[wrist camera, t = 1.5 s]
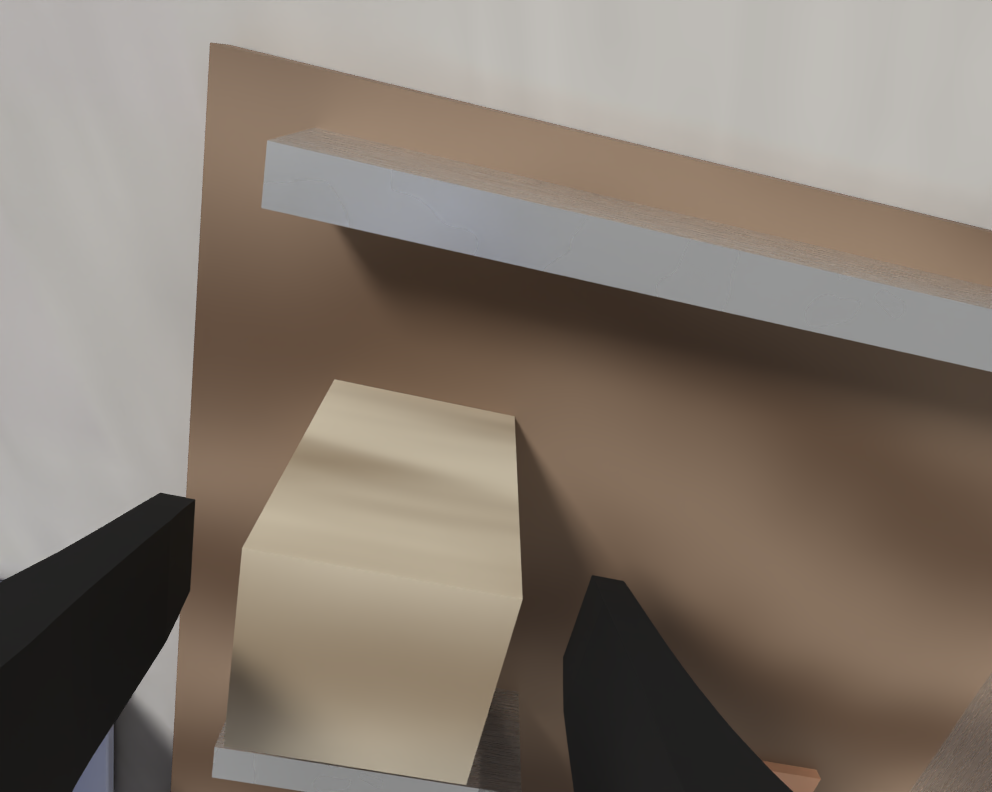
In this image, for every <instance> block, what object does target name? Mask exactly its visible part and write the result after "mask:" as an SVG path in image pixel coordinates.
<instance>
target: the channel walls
mask: <svg viewBox="0 0 992 792" xmlns="http://www.w3.org/2000/svg"><path fill="white" fill-rule="evenodd" d="M261 208H264V209H268V210H273V211H277V212H282V213H286V214H291V215H295V216H299V217H304V218H308V219H313V220H317V221H322V222H326V223H331V224H335V225H340V226H344V227H348V228H353V229H357V230H362V231H366V232H371V233H375V234H380V235H384V236H389V237H393V238H397V239H402V240H406V241H411V242H415V243H420V244H424V245H429V246H433V247H438V248H442V249H446V250H451V251H455V252H460V253H464V254H469V255H473V256H478V257H482V258H487V259H491V260H495V261H500V262H504V263H509V264H513V265H518V266H522V267H527V268H531V269H536V270H540V271H544V272H549V273H553V274H558V275H562V276H567V277H571V278H576V279H580V280H584V281H589V282H593V283H598V284H602V285H607V286H611V287H616V288H620V289H625V290H629V291H633V292H638V293H642V294H647V295H651V296H656V297H660V298H665V299H669V300H674V301H678V302H682V303H687V304H691V305H696V306H700V307H705V308H709V309H714V310H718V311H723V312H727V313H731V314H736V315H740V316H745V317H749V318H754V319H758V320H763V321H767V322H772V323H776V324H780V325H785V326H789V327H794V328H798V329H803V330H807V331H812V332H816V333H821V334H825V335H829V336H834V337H838V338H843V339H847V340H852V341H856V342H861V343H865V344H870V345H874V346H878V347H883V348H887V349H892V350H896V351H901V352H905V353H910V354H914V355H919V356H923V357H927V358H932V359H936V360H941V361H945V362H950V363H954V364H959V365H963V366H968V367H972V368H976V369H981V370H985V371H990V372H992V287H990V286H985V285H981V284H977V283H973V282H968V281H964V280H960V279H956V278H951V277H947V276H943V275H939V274H934V273H930V272H926V271H922V270H918V269H913V268H909V267H905V266H901V265H896V264H892V263H888V262H884V261H879V260H875V259H871V258H867V257H862V256H858V255H854V254H850V253H845V252H841V251H837V250H833V249H829V248H824V247H820V246H816V245H812V244H807V243H803V242H799V241H795V240H790V239H786V238H782V237H778V236H773V235H769V234H765V233H761V232H756V231H752V230H748V229H744V228H739V227H735V226H731V225H727V224H723V223H718V222H714V221H710V220H706V219H701V218H697V217H693V216H689V215H684V214H680V213H676V212H672V211H667V210H663V209H659V208H655V207H650V206H646V205H642V204H638V203H634V202H629V201H625V200H621V199H617V198H612V197H608V196H604V195H600V194H595V193H591V192H587V191H583V190H578V189H574V188H570V187H566V186H561V185H557V184H553V183H549V182H544V181H540V180H536V179H532V178H528V177H523V176H519V175H515V174H511V173H506V172H502V171H498V170H494V169H489V168H485V167H481V166H477V165H472V164H468V163H464V162H460V161H455V160H451V159H447V158H443V157H439V156H434V155H430V154H426V153H422V152H417V151H413V150H409V149H405V148H400V147H396V146H392V145H388V144H383V143H379V142H375V141H371V140H366V139H362V138H358V137H354V136H350V135H345V134H341V133H337V132H333V131H328V130H324V129H320V128H316V127H315V128H312V129H308V130H304V131H300V132H297V133H293V134H289V135H286V136H282V137H278V138H274V139H271V140H267V148H266V159H265V171H264V182H263V194H262V205H261ZM225 725H226V721H225V723H224V726H223V728H222V730H221V733H220V735H219V738H218V740H217V742H216V745H215V747H214V758H213V770H212V777H213V778H219V779H226V780H232V781H239V782H245V783H252V784H258V785H265V786H271V787H278V788H284V789H291V790H297V791H304V792H521V763H520V731H519V698H518V692H515V691H509V690H503V689H497V688H496V689H495V692H494V695H493V698H492V702H491V705H490V708H489V712H488V715H487V718H486V721H485V725H484V728H483V731H482V735H481V738H480V741H479V744H478V748H477V751H476V754H475V758H474V761H473V764H472V767H471V771H470V774H469V777H468V781H467V784H466V785H462V784H456V783H449V782H443V781H437V780H430V779H424V778H418V777H411V776H405V775H399V774H392V773H386V772H380V771H373V770H367V769H361V768H354V767H348V766H342V765H335V764H329V763H323V762H316V761H310V760H304V759H298V758H291V757H285V756H279V755H272V754H266V753H260V752H253V751H247V750H241V749H234V748H228V747H223V746H224V735H225ZM910 792H992V673H991V674H990V675H989V677H988V678H987V680H986V681H985V683H984V684H983V686H982V687H981V689H980V690H979V691H978V693H977V694H976V696H975V697H974V699H973V700H972V702H971V703H970V705H969V706H968V707H967V709H966V710H965V712H964V713H963V715H962V716H961V718H960V719H959V721H958V722H957V723H956V725H955V726H954V728H953V729H952V731H951V732H950V734H949V735H948V737H947V738H946V740H945V741H944V742H943V744H942V745H941V747H940V748H939V750H938V751H937V753H936V754H935V756H934V757H933V758H932V760H931V761H930V763H929V764H928V766H927V767H926V769H925V770H924V772H923V773H922V774H921V776H920V777H919V779H918V780H917V782H916V783H915V785H914V786H913V788H912V789H911V791H910Z"/></svg>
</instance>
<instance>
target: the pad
mask: <svg viewBox="0 0 992 792" xmlns="http://www.w3.org/2000/svg"><path fill="white" fill-rule="evenodd" d="M763 762H764V763H765V764H766V765H767V767H768V768H769V769H770V770H771V771H772V772H773V773H774V774H775V775H776V776H777V777H778V778H779V779H780V780H781V781H782V782H784V783H785V784H786V785H787V786H788V787H789V788H790V789H791V790H792V791H793V792H814V790H815V788H816V787H817V785H818V783H819V782H820V780H821V778H820V776H819V774H818V772H817V770H815V769H809V768H803V767H797V766H791V765H786V764H780V763H774V762H768V761H763Z"/></svg>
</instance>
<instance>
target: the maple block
mask: <svg viewBox="0 0 992 792" xmlns="http://www.w3.org/2000/svg"><path fill="white" fill-rule="evenodd" d="M522 600H523V595H522V572H521V550H520V527H519V505H518V483H517V460H516V438H515V416H510V415H505V414H501V413H496V412H491V411H486V410H481V409H476V408H471V407H467V406H462V405H457V404H452V403H447V402H442V401H437V400H432V399H428V398H423V397H418V396H413V395H408V394H403V393H398V392H394V391H389V390H384V389H379V388H374V387H369V386H364V385H359V384H355V383H350V382H345V381H340V380H335V379H334V381H333V383H332V385H331V387H330V388H329V390H328V392H327V394H326V396H325V398H324V399H323V401H322V403H321V405H320V407H319V408H318V410H317V412H316V414H315V416H314V418H313V419H312V421H311V423H310V425H309V427H308V429H307V430H306V432H305V434H304V436H303V438H302V440H301V441H300V443H299V445H298V447H297V449H296V450H295V452H294V454H293V456H292V458H291V460H290V461H289V463H288V465H287V467H286V469H285V471H284V472H283V474H282V476H281V478H280V480H279V482H278V483H277V485H276V487H275V489H274V491H273V493H272V494H271V496H270V498H269V500H268V502H267V503H266V505H265V507H264V509H263V511H262V513H261V514H260V516H259V518H258V520H257V522H256V524H255V525H254V527H253V529H252V531H251V533H250V535H249V536H248V538H247V540H246V542H245V544H244V545H243V547H242V555H241V566H240V576H239V587H238V597H237V608H236V619H235V629H234V640H233V651H232V661H231V672H230V682H229V693H228V704H227V714H226V725H225V735H224V746H223V747H228V748H234V749H241V750H247V751H253V752H260V753H266V754H272V755H279V756H285V757H291V758H298V759H304V760H310V761H316V762H323V763H329V764H335V765H342V766H348V767H354V768H361V769H367V770H373V771H380V772H386V773H392V774H399V775H405V776H411V777H418V778H424V779H430V780H437V781H443V782H449V783H456V784H462V785H466V784H467V781H468V777H469V774H470V771H471V767H472V764H473V761H474V758H475V754H476V751H477V748H478V744H479V741H480V738H481V735H482V731H483V728H484V725H485V721H486V718H487V715H488V712H489V708H490V705H491V702H492V698H493V695H494V692H495V689H496V685H497V682H498V679H499V675H500V672H501V669H502V666H503V662H504V659H505V656H506V652H507V649H508V646H509V643H510V639H511V636H512V633H513V629H514V626H515V623H516V620H517V616H518V613H519V610H520V606H521V603H522Z"/></svg>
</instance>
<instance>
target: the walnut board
mask: <svg viewBox="0 0 992 792" xmlns="http://www.w3.org/2000/svg"><path fill="white" fill-rule="evenodd" d="M315 127H316V128H320V129H324V130H328V131H333V132H337V133H341V134H345V135H350V136H354V137H358V138H362V139H366V140H371V141H375V142H379V143H383V144H388V145H392V146H396V147H400V148H405V149H409V150H413V151H417V152H422V153H426V154H430V155H434V156H439V157H443V158H447V159H451V160H455V161H460V162H464V163H468V164H472V165H477V166H481V167H485V168H489V169H494V170H498V171H502V172H506V173H511V174H515V175H519V176H523V177H528V178H532V179H536V180H540V181H544V182H549V183H553V184H557V185H561V186H566V187H570V188H574V189H578V190H583V191H587V192H591V193H595V194H600V195H604V196H608V197H612V198H617V199H621V200H625V201H629V202H634V203H638V204H642V205H646V206H650V207H655V208H659V209H663V210H667V211H672V212H676V213H680V214H684V215H689V216H693V217H697V218H701V219H706V220H710V221H714V222H718V223H723V224H727V225H731V226H735V227H739V228H744V229H748V230H752V231H756V232H761V233H765V234H769V235H773V236H778V237H782V238H786V239H790V240H795V241H799V242H803V243H807V244H812V245H816V246H820V247H824V248H829V249H833V250H837V251H841V252H845V253H850V254H854V255H858V256H862V257H867V258H871V259H875V260H879V261H884V262H888V263H892V264H896V265H901V266H905V267H909V268H913V269H918V270H922V271H926V272H930V273H934V274H939V275H943V276H947V277H951V278H956V279H960V280H964V281H968V282H973V283H977V284H981V285H985V286H990V287H992V230H987V229H983V228H979V227H975V226H971V225H967V224H963V223H959V222H955V221H950V220H946V219H942V218H938V217H934V216H930V215H926V214H922V213H918V212H913V211H909V210H905V209H901V208H897V207H893V206H889V205H885V204H881V203H877V202H872V201H868V200H864V199H860V198H856V197H852V196H848V195H844V194H840V193H835V192H831V191H827V190H823V189H819V188H815V187H811V186H807V185H803V184H798V183H794V182H790V181H786V180H782V179H778V178H774V177H770V176H766V175H762V174H757V173H753V172H749V171H745V170H741V169H737V168H733V167H729V166H725V165H720V164H716V163H712V162H708V161H704V160H700V159H696V158H692V157H688V156H683V155H679V154H675V153H671V152H667V151H663V150H659V149H655V148H651V147H647V146H642V145H638V144H634V143H630V142H626V141H622V140H618V139H614V138H610V137H605V136H601V135H597V134H593V133H589V132H585V131H581V130H577V129H573V128H568V127H564V126H560V125H556V124H552V123H548V122H544V121H540V120H536V119H532V118H527V117H523V116H519V115H515V114H511V113H507V112H503V111H499V110H495V109H490V108H486V107H482V106H478V105H474V104H470V103H466V102H462V101H458V100H453V99H449V98H445V97H441V96H437V95H433V94H429V93H425V92H421V91H417V90H412V89H408V88H404V87H400V86H396V85H392V84H388V83H384V82H380V81H375V80H371V79H367V78H363V77H359V76H355V75H351V74H347V73H343V72H338V71H334V70H330V69H326V68H322V67H318V66H314V65H310V64H306V63H301V62H297V61H293V60H289V59H285V58H281V57H277V56H273V55H269V54H265V53H260V52H256V51H252V50H248V49H244V48H240V47H236V46H232V45H226V44H217V43H210V54H209V73H208V92H207V111H206V130H205V149H204V168H203V187H202V206H201V225H200V244H199V263H198V282H197V301H196V320H195V339H194V358H193V377H192V396H191V415H190V434H189V453H188V472H187V491H186V498H190V499H195V516H194V534H193V551H192V569H191V586H190V592H189V594H188V597H187V599H186V601H185V603H184V605H183V607H182V609H181V612H180V624H179V643H178V662H177V681H176V700H175V719H174V738H173V757H172V776H171V792H304V791H297V790H291V789H284V788H278V787H271V786H265V785H258V784H252V783H245V782H239V781H232V780H226V779H219V778H213V777H212V770H213V758H214V747H215V745H216V742H217V740H218V738H219V735H220V733H221V730H222V728H223V726H224V723H225V721H226V714H227V704H228V693H229V682H230V672H231V661H232V651H233V640H234V629H235V619H236V608H237V597H238V587H239V576H240V566H241V555H242V547H243V545H244V544H245V542H246V540H247V538H248V536H249V535H250V533H251V531H252V529H253V527H254V525H255V524H256V522H257V520H258V518H259V516H260V514H261V513H262V511H263V509H264V507H265V505H266V503H267V502H268V500H269V498H270V496H271V494H272V493H273V491H274V489H275V487H276V485H277V483H278V482H279V480H280V478H281V476H282V474H283V472H284V471H285V469H286V467H287V465H288V463H289V461H290V460H291V458H292V456H293V454H294V452H295V450H296V449H297V447H298V445H299V443H300V441H301V440H302V438H303V436H304V434H305V432H306V430H307V429H308V427H309V425H310V423H311V421H312V419H313V418H314V416H315V414H316V412H317V410H318V408H319V407H320V405H321V403H322V401H323V399H324V398H325V396H326V394H327V392H328V390H329V388H330V387H331V385H332V383H333V381H334V379H335V380H340V381H345V382H350V383H355V384H359V385H364V386H369V387H374V388H379V389H384V390H389V391H394V392H398V393H403V394H408V395H413V396H418V397H423V398H428V399H432V400H437V401H442V402H447V403H452V404H457V405H462V406H467V407H471V408H476V409H481V410H486V411H491V412H496V413H501V414H505V415H510V416H515V438H516V460H517V483H518V505H519V527H520V550H521V572H522V595H523V600H522V603H521V606H520V610H519V613H518V616H517V620H516V623H515V626H514V629H513V633H512V636H511V639H510V643H509V646H508V649H507V652H506V656H505V659H504V662H503V666H502V669H501V672H500V675H499V679H498V682H497V685H496V688H497V689H503V690H509V691H515V692H518V698H519V731H520V763H521V792H574V789H573V782H572V774H571V767H570V760H569V752H568V744H567V736H566V729H565V720H564V712H563V656H564V653H565V650H566V648H567V645H568V642H569V639H570V636H571V633H572V630H573V628H574V625H575V622H576V619H577V616H578V613H579V611H580V608H581V605H582V602H583V599H584V596H585V593H586V591H587V588H588V585H589V582H590V579H591V576H592V575H595V576H600V577H606V578H611V579H616V580H621V581H624V582H625V583H626V585H627V586H628V587H629V589H630V590H631V592H632V593H633V595H634V596H635V598H636V599H637V601H638V602H639V604H640V605H641V607H642V608H643V610H644V611H645V613H646V614H647V616H648V617H649V619H650V620H651V622H652V623H653V625H654V626H655V628H656V629H657V631H658V632H659V634H660V635H661V637H662V638H663V639H664V641H665V642H666V644H667V645H668V647H669V648H670V649H671V651H672V652H673V654H674V655H675V656H676V658H677V659H678V661H679V662H680V663H681V665H682V666H683V668H684V669H685V670H686V672H687V673H688V674H689V676H690V677H691V678H692V680H693V681H694V682H695V683H696V685H697V686H698V687H699V689H700V690H701V691H702V692H703V694H704V695H705V696H706V697H707V699H708V700H709V701H710V702H711V704H712V705H713V706H714V707H715V709H716V710H717V711H718V712H719V714H720V715H721V716H722V717H723V718H724V719H725V721H726V722H727V723H728V724H729V725H730V726H731V728H732V729H733V730H734V731H735V732H736V733H737V734H738V735H739V737H740V738H741V739H742V740H743V741H744V742H745V743H746V744H747V745H748V746H749V747H750V748H751V749H752V751H753V752H754V753H755V754H756V755H757V756H758V757H759V758H760V759H761V760H762V761H768V762H774V763H780V764H786V765H791V766H797V767H803V768H809V769H815V770H817V772H818V774H819V776H820V778H821V780H820V782H819V783H818V785H817V787H816V788H815V790H814V792H910V791H911V789H912V788H913V786H914V785H915V783H916V782H917V780H918V779H919V777H920V776H921V774H922V773H923V772H924V770H925V769H926V767H927V766H928V764H929V763H930V761H931V760H932V758H933V757H934V756H935V754H936V753H937V751H938V750H939V748H940V747H941V745H942V744H943V742H944V741H945V740H946V738H947V737H948V735H949V734H950V732H951V731H952V729H953V728H954V726H955V725H956V723H957V722H958V721H959V719H960V718H961V716H962V715H963V713H964V712H965V710H966V709H967V707H968V706H969V705H970V703H971V702H972V700H973V699H974V697H975V696H976V694H977V693H978V691H979V690H980V689H981V687H982V686H983V684H984V683H985V681H986V680H987V678H988V677H989V675H990V674H991V673H992V372H990V371H985V370H981V369H976V368H972V367H968V366H963V365H959V364H954V363H950V362H945V361H941V360H936V359H932V358H927V357H923V356H919V355H914V354H910V353H905V352H901V351H896V350H892V349H887V348H883V347H878V346H874V345H870V344H865V343H861V342H856V341H852V340H847V339H843V338H838V337H834V336H829V335H825V334H821V333H816V332H812V331H807V330H803V329H798V328H794V327H789V326H785V325H780V324H776V323H772V322H767V321H763V320H758V319H754V318H749V317H745V316H740V315H736V314H731V313H727V312H723V311H718V310H714V309H709V308H705V307H700V306H696V305H691V304H687V303H682V302H678V301H674V300H669V299H665V298H660V297H656V296H651V295H647V294H642V293H638V292H633V291H629V290H625V289H620V288H616V287H611V286H607V285H602V284H598V283H593V282H589V281H584V280H580V279H576V278H571V277H567V276H562V275H558V274H553V273H549V272H544V271H540V270H536V269H531V268H527V267H522V266H518V265H513V264H509V263H504V262H500V261H495V260H491V259H487V258H482V257H478V256H473V255H469V254H464V253H460V252H455V251H451V250H446V249H442V248H438V247H433V246H429V245H424V244H420V243H415V242H411V241H406V240H402V239H397V238H393V237H389V236H384V235H380V234H375V233H371V232H366V231H362V230H357V229H353V228H348V227H344V226H340V225H335V224H331V223H326V222H322V221H317V220H313V219H308V218H304V217H299V216H295V215H291V214H286V213H282V212H277V211H273V210H268V209H264V208H261V205H262V194H263V182H264V171H265V159H266V148H267V140H271V139H274V138H278V137H282V136H286V135H289V134H293V133H297V132H300V131H304V130H308V129H312V128H315Z"/></svg>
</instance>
